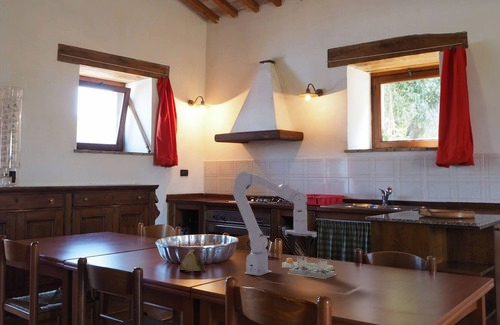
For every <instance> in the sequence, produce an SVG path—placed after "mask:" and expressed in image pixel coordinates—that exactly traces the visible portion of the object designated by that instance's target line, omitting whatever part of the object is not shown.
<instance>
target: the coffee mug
mask: <svg viewBox="0 0 500 325" xmlns="http://www.w3.org/2000/svg"><path fill="white" fill-rule="evenodd" d="M264 236H265V237H266V238H267V240H268V245H267V247H266V249H267V251H268V252H269V246H270V237H271V236H270V235H264ZM249 242H250V239H248V240H247V242H246V245H247V247H248V248H249V249H250V250H252V249H251V247H250V245H249Z"/></svg>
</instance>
